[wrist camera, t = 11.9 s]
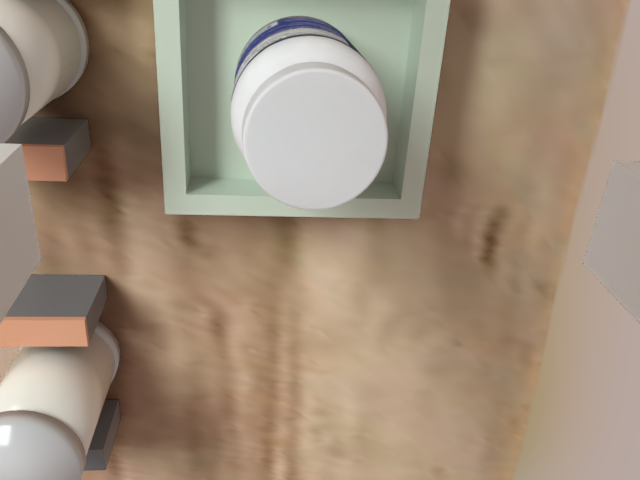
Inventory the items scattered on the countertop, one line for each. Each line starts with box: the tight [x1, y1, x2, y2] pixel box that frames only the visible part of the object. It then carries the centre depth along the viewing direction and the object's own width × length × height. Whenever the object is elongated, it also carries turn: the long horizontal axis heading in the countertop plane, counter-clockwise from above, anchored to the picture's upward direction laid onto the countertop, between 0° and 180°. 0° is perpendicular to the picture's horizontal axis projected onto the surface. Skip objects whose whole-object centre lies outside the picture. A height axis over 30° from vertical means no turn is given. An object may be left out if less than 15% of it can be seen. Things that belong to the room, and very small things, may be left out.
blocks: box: [0, 117, 121, 471], centre depth 29 cm, size 27×4×4 cm, turn 177°
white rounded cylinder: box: [0, 321, 121, 480], centre depth 31 cm, size 5×5×9 cm
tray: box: [153, 0, 451, 219], centre depth 28 cm, size 12×12×3 cm
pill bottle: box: [231, 15, 388, 210], centre depth 24 cm, size 6×6×10 cm
